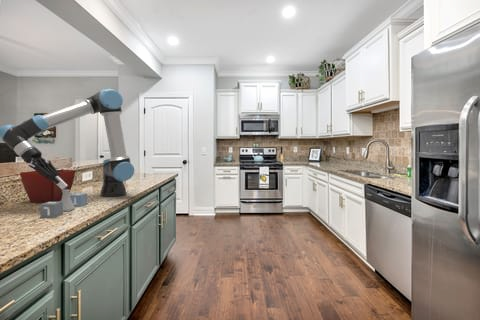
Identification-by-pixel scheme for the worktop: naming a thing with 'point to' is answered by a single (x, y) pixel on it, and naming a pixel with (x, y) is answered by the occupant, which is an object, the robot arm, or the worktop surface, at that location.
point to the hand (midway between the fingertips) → (64, 187)
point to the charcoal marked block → (51, 209)
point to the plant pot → (45, 185)
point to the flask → (67, 201)
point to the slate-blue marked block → (79, 199)
